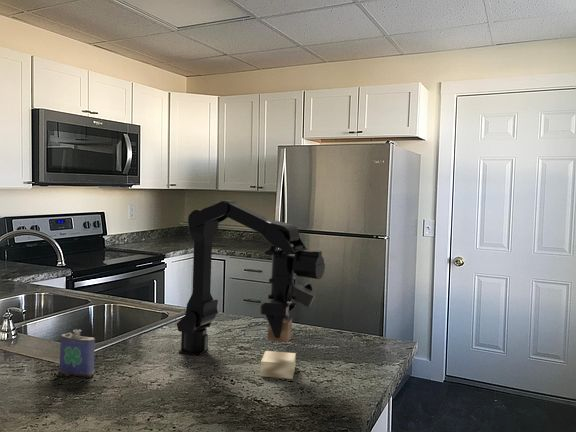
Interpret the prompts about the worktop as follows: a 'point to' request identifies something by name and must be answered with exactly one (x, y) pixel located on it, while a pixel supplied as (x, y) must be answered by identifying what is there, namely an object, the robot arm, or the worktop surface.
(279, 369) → the beech block
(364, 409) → the worktop surface
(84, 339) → the flask
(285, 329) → the walnut cube
